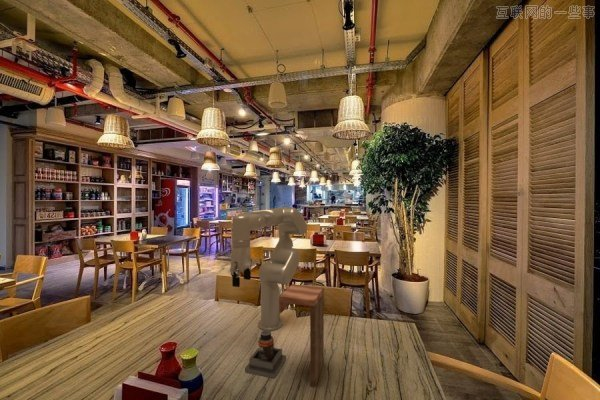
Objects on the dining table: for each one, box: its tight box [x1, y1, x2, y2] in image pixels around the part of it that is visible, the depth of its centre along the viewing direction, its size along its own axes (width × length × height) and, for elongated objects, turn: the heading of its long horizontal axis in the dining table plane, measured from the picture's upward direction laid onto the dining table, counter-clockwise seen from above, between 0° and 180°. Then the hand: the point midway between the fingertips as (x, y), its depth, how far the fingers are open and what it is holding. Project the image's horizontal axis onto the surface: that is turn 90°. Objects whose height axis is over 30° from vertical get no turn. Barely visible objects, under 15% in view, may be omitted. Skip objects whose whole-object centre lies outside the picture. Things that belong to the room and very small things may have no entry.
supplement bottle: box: [257, 330, 275, 361], centre depth 105 cm, size 6×6×11 cm
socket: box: [244, 347, 287, 379], centre depth 105 cm, size 12×12×4 cm
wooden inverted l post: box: [279, 283, 325, 388], centre depth 102 cm, size 14×13×30 cm
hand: (241, 282), depth 118 cm, fingers open, 9 cm apart
